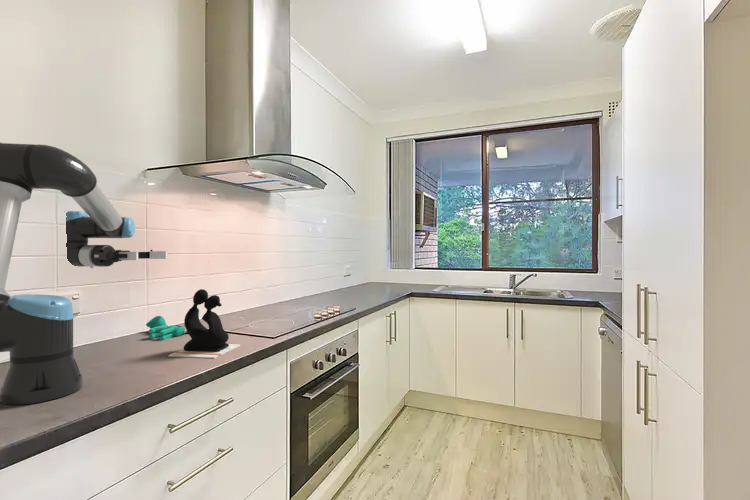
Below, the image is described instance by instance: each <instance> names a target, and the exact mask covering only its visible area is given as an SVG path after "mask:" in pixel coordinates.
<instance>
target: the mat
mask: <svg viewBox="0 0 750 500" xmlns="http://www.w3.org/2000/svg"><path fill="white" fill-rule="evenodd" d="M227 344H228V345H229V346H228V347H226V348H224V349H222V350H220V351H185V350H184V348H183V349H181V350H178V351H174V352H172V353H170V354H169V355H168V357H171V358H173V357H175V358H195V359H196V358H197V359H216V358H219V357H220V356H222V355H224V354H227V353H228V352H230V351H232V350H234V349H236V348H238V347H241V344H234V343H233V344H232V343H231V344H230V343H227Z"/></svg>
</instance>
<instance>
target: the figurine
mask: <svg viewBox="0 0 750 500" xmlns="http://www.w3.org/2000/svg"><path fill="white" fill-rule="evenodd" d="M192 302H193V305H192V306H191V307H190V308H189V309H188V310H187V313H186V314H185V316H184V321H183V323H184V325H185V328H186V330H187V332H188V333H187V334H188V335H189V337H190V339H189V340H188V341H187V342H186V343H185V344H184V345H183V349H184V350H185V351H220V350H222V349H224V348H226V347H228V346H229V345H228V344H229V343H228V340H229V337H230V336H229V334H228V332H227V331H225V329H224V327H223V323H222V320H221V317H220V316H219V315H218V314H217V313H216V312H215V311H212V310H213V309H215V308H217V307H221V306H222V303H221V299H220V296H219V295H217V294H216V295H215V294H214V295H209V293H208V291H207V290H206V289H198V290H197V291H196V292H195V293H194V294H193V296H192ZM200 305H204V306H203V307H204V308H205V309H206V312H205V313H204V314H203V316H202V317H201V320H203V321H204V322H205V323H206V324H207V326H208V328H207V327H205V326H204V325H203V324H202V322H201V320H200V317H199V314H200V309H199V307H198V306H200Z"/></svg>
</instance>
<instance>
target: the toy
mask: <svg viewBox="0 0 750 500" xmlns="http://www.w3.org/2000/svg"><path fill="white" fill-rule="evenodd" d="M145 326H146V327H148V328H149V329H148V332H149V334H148V339H150V340H154V339H155V338H158V339H159V341H165V340H168V339H171V338H174V337H181V336H182V335H185V334H188V332H187V330H186V328H185V324H184V325H181V326H178V325H167V323H166V320H165V318H164V317H163V316H162V315H156V316H154V317H153V318H151V319H149V321H148V322H146V324H145Z"/></svg>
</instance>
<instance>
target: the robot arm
mask: <svg viewBox="0 0 750 500" xmlns="http://www.w3.org/2000/svg"><path fill="white" fill-rule="evenodd" d="M97 179H98V178H97V176H96V174H95V173H94V172H93V170H92V169H91V168H90V167H89V166H88V165H87V164H86V163H85V162H83V161H82V160H80V159H79V158H77V157H76V156H74V155H72V154H71V153H69V151H65V150H63V149H61V148H58V147H56V146H52V145H47V144H41V143H40V144H39V143H38V144H33V143H32V144H31V143H30V144H29V143H28V144H27V143H11V142H10V143H7V142H1V141H0V353H5V352H9V367H8V370H7V373H6V374H5V378H4V381H3V384H2V387H1V388H0V403H2V404H3V405H11V406H13V405H15V406H16V405H18V406H19V405H29V404H37V403H43V402H47V401H50V400H51V401H52V400H55V399H56V400H57V399H59V398H62V397H66V396H68V395H71V394H73V393H77V392H78V391H79V390H81V388H82V387H83V383H84V380H83V375H82V373H81V372H80V369H79V366H78V364H77V362H76V359H75V357H74V318H75V315H74V313H73V303H72V301H71V300H70V299H69V298H68V297H65V296H61V295H55V294H37V293H35V294H31V293H30V294H29V293H27V294H26V293H25V294H14V295H10V293H8V292H7V291H6V290H5V289H6V283H7V278H8V275H9V274H8V273H9V269H10V265H11V258H12V253H13V249H14V243H15V240H16V233H17V229H18V223H19V220H20V213H21V208H22V204H23V202H26V201H28V200H30V199H31V197H32V192H33V190H35V189H38V190H40V189H42V190H45V189H46V190H47V189H48V190H49V189H50V190H56V191H60V192H61V193H62V194H64V195H65V196H67V197H70V198H72V200H74V201H75V202H76V204H77V205H78V206H79V207H80V208H81V209H82V210H83V211H79V210H67V211H68V212H67V213H66V216H67V217H66V234H67V243H66V247H67V259H68V261H69V262H70V263H71V264H72V265H74V266H78V267H90V269H94V267H99V268H100V267H103V268H104V267H110V266H112V265H114V263H118V262H122V261H138V260H141V259H142V260H143V259H150V260H167V259H168V251H167V250H163V251H162V250H160V251H159V250H158V251H157V250H155V251H154V250H153V249H150V251H130V250H121V249H115V248H114V247H113V246H112V245H109V244H89V239H129V238H133V237H134V235H135V232H136V224H135V221H134V218H132V217H127V216H123V217H122V215H121V214H120V213H119V212H118V210H117V209H116V208H115V207H114V205H113V204H112V203H111V201H110V200H109V198H108V196H106V194H105V193H104V192H103V190H102V189H101V188H100V187H99V185H98V184H97V183H98V180H97ZM78 267H77V268H78Z"/></svg>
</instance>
